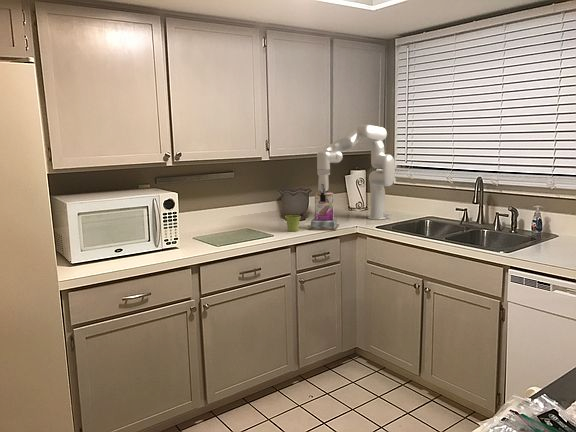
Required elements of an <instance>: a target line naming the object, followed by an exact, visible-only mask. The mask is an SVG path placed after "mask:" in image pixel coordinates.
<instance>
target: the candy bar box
mask: <svg viewBox="0 0 576 432" xmlns="http://www.w3.org/2000/svg"><path fill="white" fill-rule="evenodd" d="M325 195H326V201H325V202H320V192H315V194H314V218H315V220H333V218H335V217H334V198H335V197H334V196H335V195H334V192H328V193H325Z"/></svg>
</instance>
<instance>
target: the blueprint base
mask: <svg viewBox="0 0 576 432" xmlns="http://www.w3.org/2000/svg"><path fill="white" fill-rule="evenodd" d="M339 226H340V224H339V223H338V217H333V220H315V217H314V218H312V220H311V221H310V227H308V230H309V229H310V230H309V231H337V229H338V228H339Z"/></svg>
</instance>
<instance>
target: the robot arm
mask: <svg viewBox="0 0 576 432" xmlns="http://www.w3.org/2000/svg"><path fill="white" fill-rule="evenodd" d="M387 136H388V132H387V130H386V129H385V127H383V126H377V125H373V124H357V125H355V126H353V127H352V129H350V130H349V131H348V132H347V133H346V134H345V135H343V137H341V138H339V139H337V140H335V141H334V142H332V143H331V144H329V145H328V146H327V147H326V148H325V149H324V150H322V151H318V152H317V153H316V162H317V163H316V167H317V169H316V170H317V175H318V188H317V191H318V192H319V193H320V202H325V201H326V195H325V193H329V187H330V186H329V185H330V183H329V176H330V175H331V163H332V164H338V163H340V162H341V161H342V160H343V159H344V158H343V153H342V152H345V151H347V150H350V149H353V148H354V147H355V146H356V145H357V144H358V143H359V142H360V141H361V140H362V139H365V140H366V141H367V142H368V143H369V145H370V151H371V153H370V161H371V162H370V163H371V166H372V167H373V169H378V170H373V171H371V172H370V173H369V175H368V182H369V188H370V190H369V191H370V196H369V197H370V199H369V203H370V204H369V206H370V207H369V208H370V210H369V211H370V212H369V214H370V215H368V216H367V219H370V220H375V221H376V220H377V221H379V220H381V221H382V220H386V219H388V216H389V217H392V216H393V213H392V212H386V208H385V207H386V189H385V187H391V186H392V185H393V184H394V183H395V173H396V172H395V169H396V167H395V165H396V163H395V158H394V157H393V156H392V154H389V153H386V152H385V144H384V140H386V138H387ZM379 169H380V170H379Z"/></svg>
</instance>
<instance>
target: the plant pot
mask: <svg viewBox="0 0 576 432" xmlns="http://www.w3.org/2000/svg"><path fill="white" fill-rule="evenodd" d="M301 217H302V216H301V215H299V214H297V215H296V214H290V215H289V214H288V215H285V216H284V218H285V220H286V225H287V226H286V227H287V231H288V232H298V231H299V226H300V220H301Z"/></svg>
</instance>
